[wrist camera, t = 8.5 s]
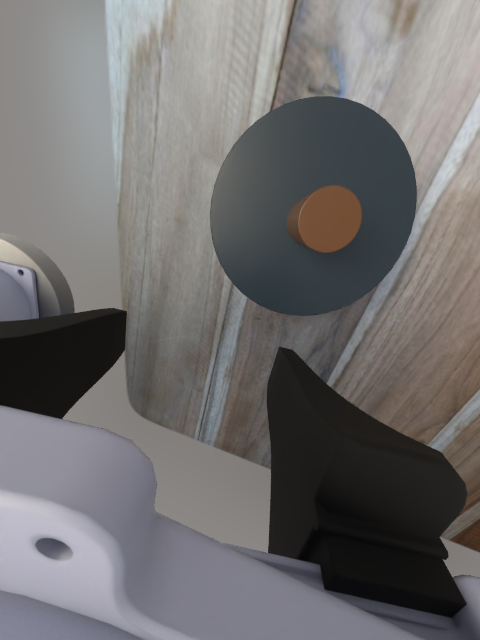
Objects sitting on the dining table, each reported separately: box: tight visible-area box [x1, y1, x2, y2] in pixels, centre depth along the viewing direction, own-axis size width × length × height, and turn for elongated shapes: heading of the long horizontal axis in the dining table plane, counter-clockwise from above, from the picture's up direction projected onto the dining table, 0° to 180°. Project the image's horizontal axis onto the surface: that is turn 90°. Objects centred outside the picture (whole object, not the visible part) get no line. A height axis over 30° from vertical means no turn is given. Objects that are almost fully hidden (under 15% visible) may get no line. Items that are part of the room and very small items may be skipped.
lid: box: [210, 96, 417, 316], centre depth 12 cm, size 11×11×5 cm
